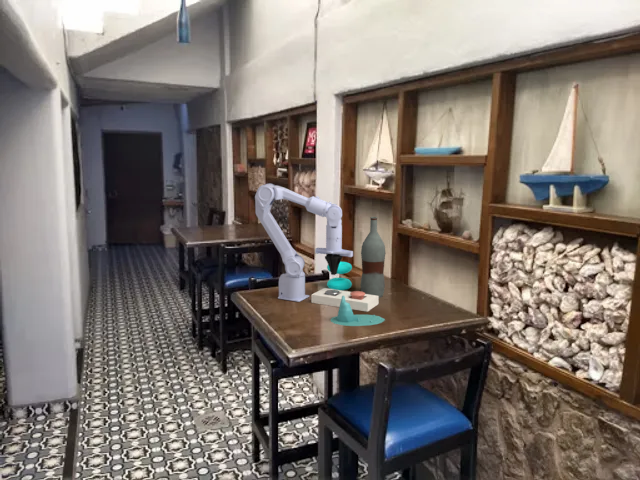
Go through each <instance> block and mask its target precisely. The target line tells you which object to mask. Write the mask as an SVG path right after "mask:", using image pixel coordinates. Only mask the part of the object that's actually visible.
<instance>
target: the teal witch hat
mask: <svg viewBox="0 0 640 480" xmlns="http://www.w3.org/2000/svg"><path fill="white" fill-rule="evenodd" d="M385 321H386V319H385V318H383V317H381V316H379V315H376V314H354V312H353V309H351V306H350V303H347V302H346V301H345V296H342V299H341V303H340V307H338V312H337V315H336V316H333V317H331V318H330V322H331V323H333V324H336V325H338V326H339V325H340V326H346V327H362V326H365V327H367V326H373V325H378V324H382V323H383V322H385Z"/></svg>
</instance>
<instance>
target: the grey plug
mask: <svg viewBox="0 0 640 480" xmlns="http://www.w3.org/2000/svg"><path fill="white" fill-rule="evenodd" d="M325 293H326V294H327V295H331V296H337V295H338V294H340V291H338V290H327V291H325Z"/></svg>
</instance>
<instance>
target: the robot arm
mask: <svg viewBox="0 0 640 480" xmlns="http://www.w3.org/2000/svg"><path fill="white" fill-rule="evenodd" d="M254 200H255V201H254V202H255V203H254V204H255V215H256V217H257V219H258V220H259V221H260V223H261V225H262V227H263V228H264V230H265V232H266V233H267V235H268V236H269V238H270V240H271V241H272V243H273V244H274V246H275V248H276V250H277V251H278V252H279V254H280V257H281V259H282V263H283V264H284V271H285V273H282V274H280V276H279V278H278V297H277V299H279V300H285V301H292V302H298V303H300V302H302V301H303V300H306V299H308V298H309V297H310V295H309V294H306V273H305V272H304V270H303V269H304V268H305V265H306V264H305V259H304V258H303V256H301V255H300V254H299V253H298V252H297V251H296V250H295V249H294V248H293V246H292V245H291V243H290V241H289V240H288V239H287V237H286V236H285V233H284V232H283V230H282V229H281V227H280V226H279V224H278V222H277V220H276V219H275V217H274V216H273V214H272V213H271V209H272V207H273V203H274V201H278V200H279V201H280V200H286V201H287V200H288V201H290V202H292V203H295V204H297V205H301V206H303V207H305V209H306V211H307V212H309V213H312V214H313V215H317V216H319V217H322V218H326V225H325V234H326V235H325V236H326V237H325V247H316V248H315V250H314V251H315V252H314V253H315V254H316V255H317V254H319V255H320V254H321V255H322V254H323V255H325V256H324V259H325V261H326V263H327V265H329V268H330V271H329V273H330V275H332V276H336V275H338V274H337V270H338V266H339V263H340V262H342V259H343V257H348V258H352V257H354V251H353V250H347V249H343V248H342V247H343V246H342V245H343V243H342V242H343V241H342V240H343V239H342V238H343V234H342V233H343V225H342V224H343V223H342V222H343V221H342V217H343V210H342V208H341V206H339V205H338V204H337V203H333V202H332V201H326V200H324V199H321V197H320V196H319V195H316V196H314V195H313V196H310V197H307V196H305V195H302V194H300V193H298V192H295V191H293V190H290V189H288V188H286V187H283V186H281V185H278V184H277V185H275V184H273V183H265V184H262V185H260V186H258V188H257V190H256V193H255V196H254ZM310 298H311V297H310Z"/></svg>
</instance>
